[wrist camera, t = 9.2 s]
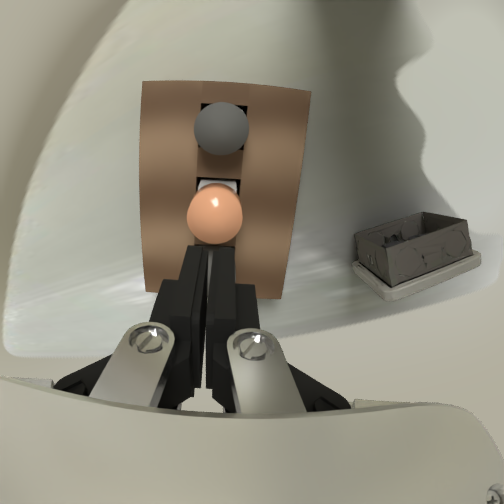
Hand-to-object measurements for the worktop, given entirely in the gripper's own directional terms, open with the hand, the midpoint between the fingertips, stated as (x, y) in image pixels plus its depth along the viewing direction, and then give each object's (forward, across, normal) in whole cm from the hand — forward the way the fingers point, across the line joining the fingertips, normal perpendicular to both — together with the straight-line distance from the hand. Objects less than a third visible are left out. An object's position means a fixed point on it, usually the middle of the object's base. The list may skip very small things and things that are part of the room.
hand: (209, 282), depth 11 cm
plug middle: (+13, 0, 0) cm, 13 cm away
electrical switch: (+15, -16, +3) cm, 22 cm away
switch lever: (+15, 0, -5) cm, 15 cm away
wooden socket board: (+15, 0, 0) cm, 15 cm away
